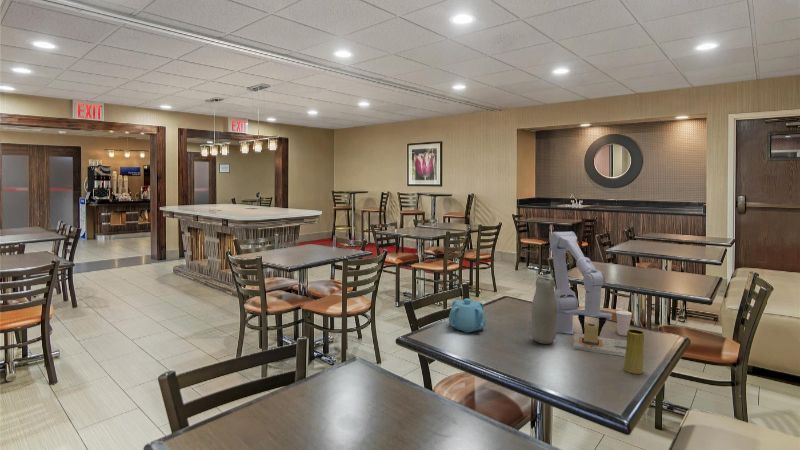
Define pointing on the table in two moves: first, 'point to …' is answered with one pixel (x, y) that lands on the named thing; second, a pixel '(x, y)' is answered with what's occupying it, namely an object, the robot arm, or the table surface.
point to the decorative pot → (467, 315)
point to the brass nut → (591, 332)
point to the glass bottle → (544, 311)
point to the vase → (634, 351)
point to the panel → (600, 345)
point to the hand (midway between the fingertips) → (590, 334)
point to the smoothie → (623, 321)
